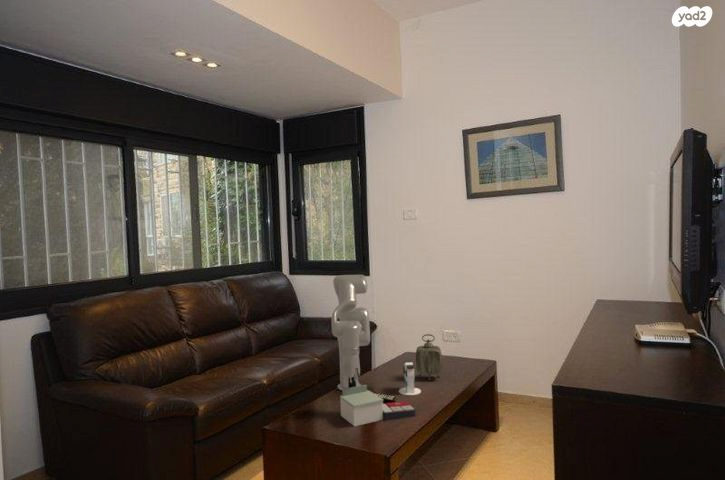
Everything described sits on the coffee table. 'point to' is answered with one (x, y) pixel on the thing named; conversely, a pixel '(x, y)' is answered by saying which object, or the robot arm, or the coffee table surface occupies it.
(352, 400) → the lid
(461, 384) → the coffee table surface
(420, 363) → the tabletop clock
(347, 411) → the box
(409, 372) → the white pedestal stand
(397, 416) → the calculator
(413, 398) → the coffee table surface
